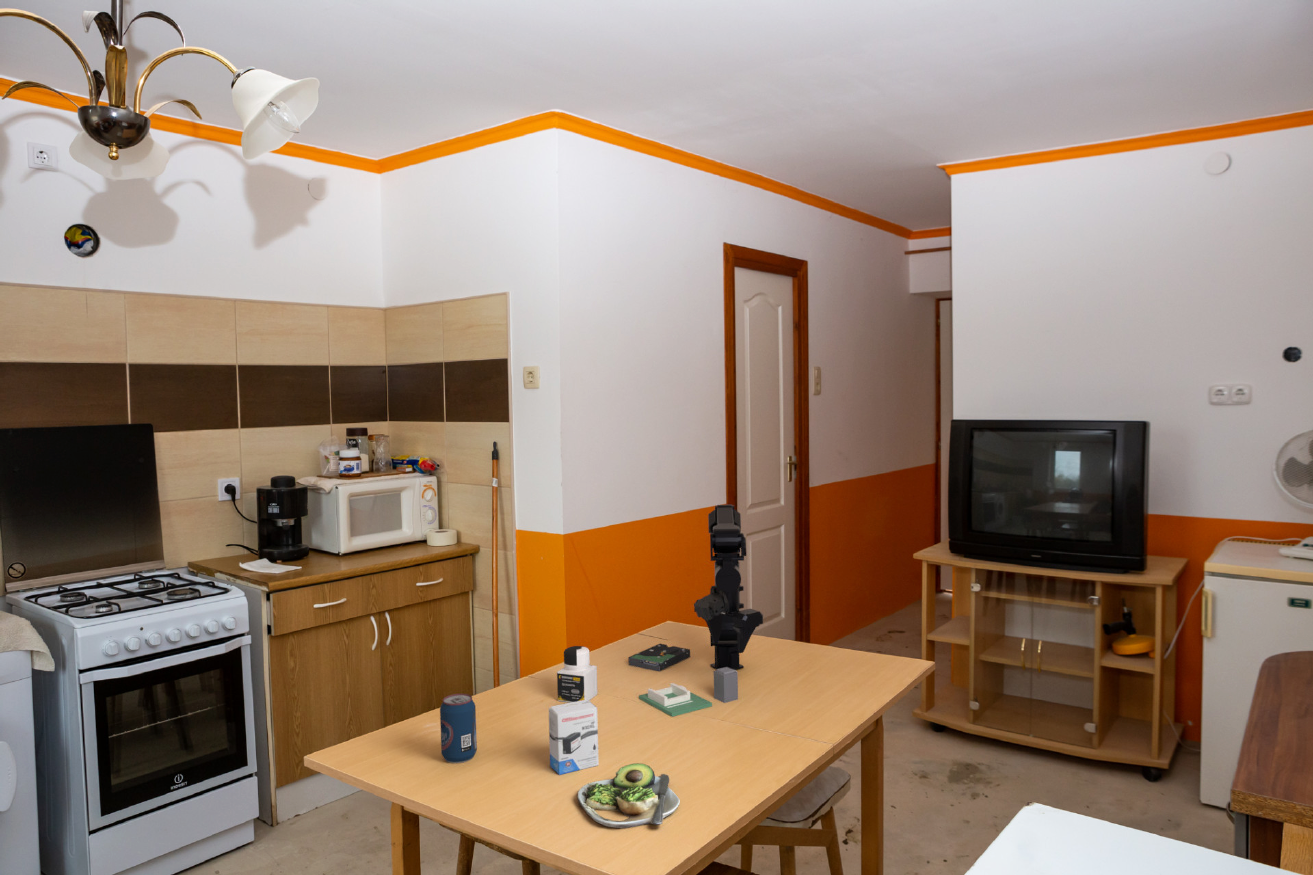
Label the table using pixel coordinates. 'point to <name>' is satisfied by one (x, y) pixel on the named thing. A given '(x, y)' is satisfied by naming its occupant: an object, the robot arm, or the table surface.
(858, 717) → the table surface
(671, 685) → the board
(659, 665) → the disk drive
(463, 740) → the soda can
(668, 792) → the avocado toast plate
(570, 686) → the medicine bottle
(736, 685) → the plug
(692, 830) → the table surface
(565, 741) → the ink box
